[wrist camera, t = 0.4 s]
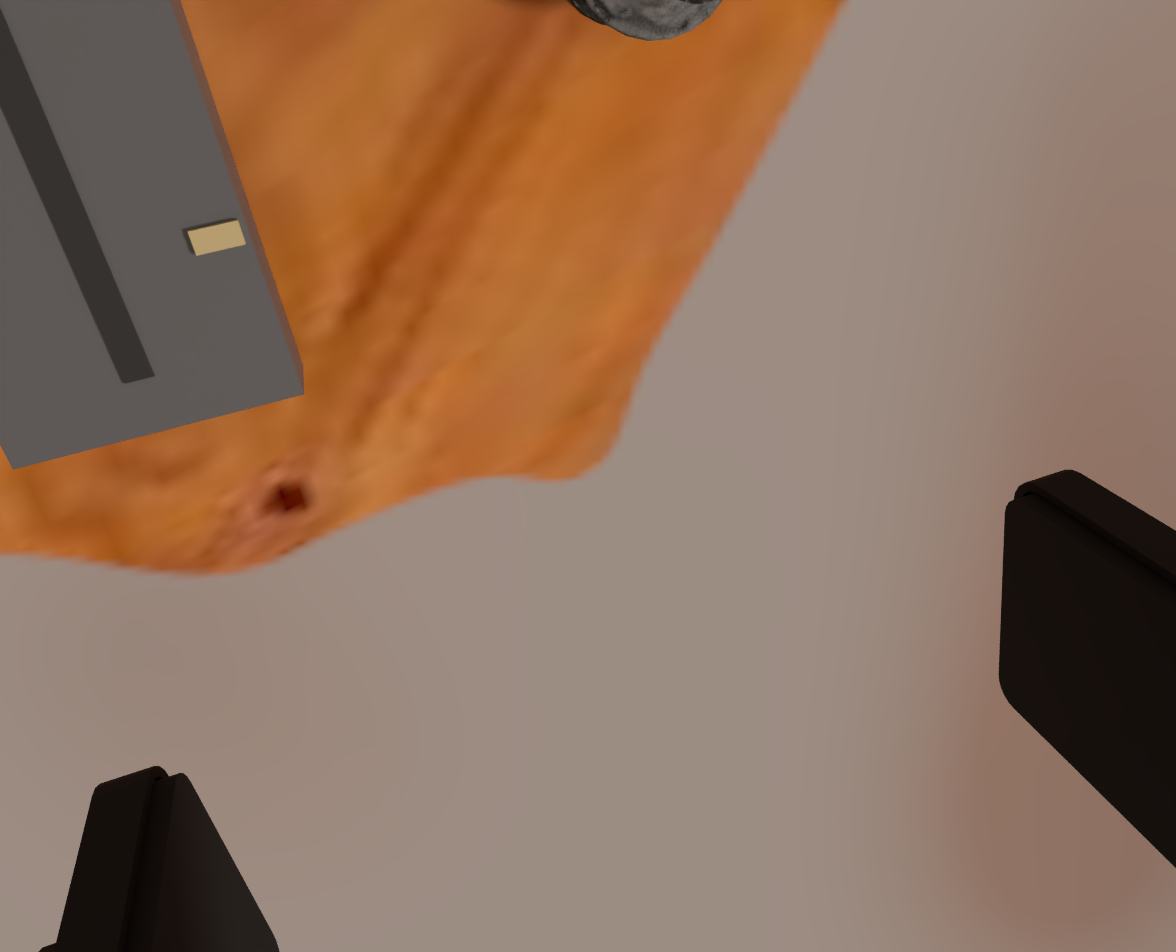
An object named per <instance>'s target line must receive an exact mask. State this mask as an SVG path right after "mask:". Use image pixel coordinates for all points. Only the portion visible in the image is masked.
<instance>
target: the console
mask: <svg viewBox="0 0 1176 952" xmlns="http://www.w3.org/2000/svg"><path fill="white" fill-rule="evenodd" d="M303 394H304V378H303V365H302V362H301V359H300V356H299V353H298V350H297V347H296V344H295V341H294V338H293V335H292V332H291V329H290V326H289V323H288V320H287V317H286V314H285V311H284V308H283V305H282V302H281V299H280V296H279V293H278V290H277V287H276V284H275V281H274V278H273V276H272V273H271V270H270V267H269V264H268V261H267V258H266V255H265V252H264V249H263V246H262V243H261V240H260V237H259V234H258V231H257V228H256V225H255V222H254V219H253V216H252V213H251V210H250V207H249V204H248V201H247V198H246V195H245V192H244V189H243V186H242V183H241V180H240V177H239V174H238V172H237V169H236V166H235V163H234V160H233V157H232V154H231V151H230V148H229V145H228V142H227V139H226V136H225V133H224V130H223V127H222V124H221V121H220V118H219V115H218V112H217V109H216V106H215V103H214V100H213V97H212V94H211V91H210V88H209V85H208V82H207V79H206V76H205V73H204V70H203V68H202V65H201V62H200V59H199V56H198V53H197V50H196V47H195V44H194V41H193V38H192V35H191V32H190V29H189V26H188V23H187V20H186V17H185V14H184V11H183V8H182V5H181V2H180V0H0V445H1V447H2V449H3V451H4V453H5V455H6V457H7V459H8V461H9V462H10V464H11V466H12V468H13V469H17V468H21V467H24V466H28V465H32V464H36V463H40V462H44V461H48V460H51V459H55V458H59V457H63V456H67V455H71V454H75V453H79V452H82V451H86V450H90V449H94V448H98V447H102V446H106V445H109V444H113V443H117V442H121V441H125V440H129V439H133V438H137V437H140V436H144V435H148V434H152V433H156V432H160V431H164V430H167V429H171V428H175V427H179V426H183V425H187V424H191V423H195V422H198V421H202V420H206V419H210V418H214V417H218V416H222V415H225V414H229V413H233V412H237V411H241V410H245V409H249V408H253V407H256V406H260V405H264V404H268V403H272V402H276V401H280V400H283V399H287V398H291V397H295V396H299V395H303Z"/></svg>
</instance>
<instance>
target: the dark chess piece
mask: <svg viewBox="0 0 1176 952" xmlns="http://www.w3.org/2000/svg"><path fill="white" fill-rule="evenodd" d="M570 1H571V2H572V3H573V4H574V5H575V6H576V7H577V8H578V9H579V10H580V11H581V12H582V13H583V14H584V15H585V16H587V17H589V18H591V19H592V20H594V21H596V22H598V23H600V24H603V25H608V26H610V27H611V28H613V29H615V30H617V31H618V32H620V33H622V34H624V35H626V36H629V37H633V38H638V39H643V40H647V41H652V40H664V39H672V38H674V37H677V36H679V35H682V34H684V33H686V32H689V31H691V30H693V29H694V28H695V27H697V26H698V25H699V24H701V23H702V22H703V21H704V20H706V19H707V18H708V17H710V16H711V14H712V13H713V12H714V10H715V9H716V8H717V7H718V5H719V4H720V3H721V2H722V0H570Z"/></svg>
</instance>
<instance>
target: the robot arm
mask: <svg viewBox="0 0 1176 952" xmlns="http://www.w3.org/2000/svg"><path fill="white" fill-rule="evenodd" d="M999 656H1000V657H999V681H1000V685H1001V689H1002V691H1003V693H1004V695H1005V697H1006V699H1007V700H1008V702H1009V703H1010V704H1011V706H1012V707H1013V708H1014V709H1015V710H1016V711H1017V712H1018V713H1019V714H1020V715H1021V716H1022V717H1023V718H1024V719H1025V720H1026V721H1027V722H1028V723H1029V724H1030V725H1031V726H1032V727H1033V728H1034V729H1035V730H1036V731H1037V732H1038V733H1039V734H1040V735H1041V736H1042V737H1044V738H1045V740H1047V741H1048V742H1049V743H1050V744H1051V745H1052V746H1053V747H1054V748H1055V749H1056V750H1057V751H1058V752H1059V753H1060V754H1061V755H1062V756H1063V757H1064V758H1065V759H1066V760H1067V761H1068V762H1069V763H1070V764H1071V765H1072V766H1073V767H1074V768H1075V769H1076V770H1077V771H1078V772H1079V773H1080V774H1081V775H1082V776H1083V777H1084V778H1085V779H1086V780H1087V781H1088V782H1089V783H1090V784H1091V785H1092V786H1093V787H1094V788H1095V789H1096V790H1097V791H1099V793H1100V794H1101V795H1102V796H1103V797H1104V798H1105V799H1106V800H1107V801H1108V802H1109V803H1111V805H1113V806H1114V807H1115V808H1116V809H1117V810H1118V811H1119V812H1120V813H1121V814H1122V815H1123V816H1124V817H1125V818H1126V819H1127V820H1128V821H1129V822H1130V823H1131V824H1132V825H1133V826H1134V827H1135V828H1136V829H1137V830H1138V831H1139V832H1140V833H1141V834H1142V835H1143V836H1144V837H1145V838H1146V839H1147V840H1148V841H1149V842H1150V843H1151V844H1152V845H1153V846H1154V847H1155V848H1156V849H1157V850H1158V851H1159V852H1160V853H1161V854H1162V855H1163V856H1164V857H1165V858H1166V859H1167V860H1168V861H1170V863H1171V864H1172V865H1173V866H1174V867H1175V868H1176V531H1175V530H1174V529H1172V528H1170V527H1169V526H1167V525H1165V524H1164V523H1162V522H1160V521H1159V520H1157V519H1155V518H1154V517H1152V516H1150V515H1149V514H1147V513H1145V512H1144V511H1142V510H1141V509H1139V508H1137V507H1136V506H1134V505H1132V504H1131V503H1129V502H1127V501H1126V500H1124V499H1122V498H1121V497H1119V496H1117V495H1116V494H1114V493H1112V492H1111V491H1109V490H1108V489H1106V488H1104V487H1103V486H1101V485H1099V484H1097V483H1096V482H1094V481H1093V480H1091V479H1089V478H1087V477H1086V476H1084V475H1083V474H1081V473H1079V472H1076V471H1074V470H1063V471H1060V472H1057V473H1054V474H1050V475H1047V476H1044V477H1041V478H1039V479H1036V480H1032V481H1029V482H1026V483H1024V484H1022V485H1020V486H1019V487H1018V489H1017V491H1016V492H1015V496H1014V500H1012V501H1010V502H1009V503H1008V505H1007V506H1006V510H1005V524H1004V552H1003V577H1002V604H1001V631H1000V655H999ZM39 952H279V948H278V945H277V942H276V939H275V937H274V935H273V933H272V931H271V929H270V927H269V925H268V924H267V922H266V920H265V918H264V916H263V914H262V913H261V911H260V909H259V907H258V905H257V903H256V901H255V900H254V898H253V896H252V894H251V892H250V891H249V889H248V887H247V885H246V883H245V881H244V879H243V877H242V876H241V874H240V872H239V870H238V868H237V867H236V865H235V863H234V861H233V859H232V857H231V855H230V854H229V852H228V850H227V848H226V846H225V844H224V842H223V841H222V839H221V837H220V835H219V833H218V832H217V830H216V828H215V826H214V824H213V822H212V820H211V818H210V817H209V815H208V813H207V811H206V809H205V807H204V806H203V804H202V802H201V800H200V798H199V796H198V794H197V793H196V791H195V789H194V787H193V785H192V783H191V782H190V780H189V779H188V777H187V776H186V775H185V774H184V773H179V774H176V775H173V776H168V774H167V773H166V771H165V770H164V769H163V768H161V767H160V766H153V767H150V768H147V769H144V770H141V771H138V772H135V773H132V774H128V775H126V776H122V777H119V778H116V779H113V780H110V781H107V782H104V783H101V784H99V785H98V786H97V787H96V788H95V790H94V793H93V795H92V799H91V803H90V807H89V811H88V815H87V819H86V823H85V827H84V832H83V835H82V840H81V843H80V848H79V851H78V856H77V860H76V864H75V868H74V873H73V876H72V880H71V884H70V888H69V893H68V896H67V900H66V905H65V909H64V913H63V917H62V921H61V925H60V929H59V933H58V937H57V941H56V943H54V944H51V945H49V946H46V947H43V948H42V949H41V950H40V951H39Z"/></svg>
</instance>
